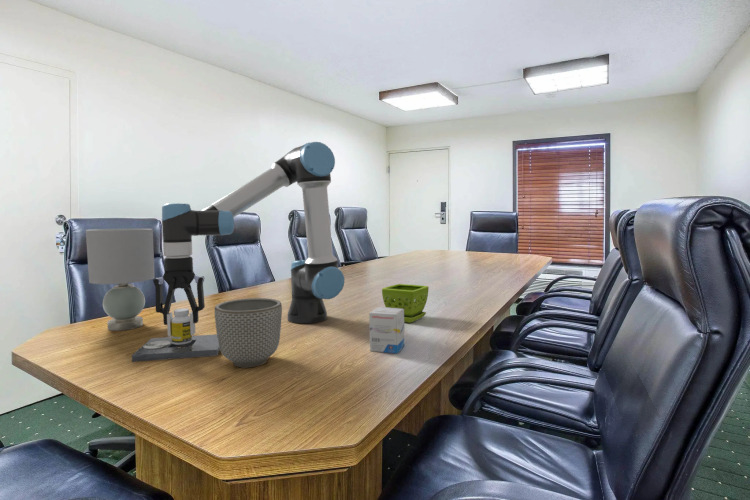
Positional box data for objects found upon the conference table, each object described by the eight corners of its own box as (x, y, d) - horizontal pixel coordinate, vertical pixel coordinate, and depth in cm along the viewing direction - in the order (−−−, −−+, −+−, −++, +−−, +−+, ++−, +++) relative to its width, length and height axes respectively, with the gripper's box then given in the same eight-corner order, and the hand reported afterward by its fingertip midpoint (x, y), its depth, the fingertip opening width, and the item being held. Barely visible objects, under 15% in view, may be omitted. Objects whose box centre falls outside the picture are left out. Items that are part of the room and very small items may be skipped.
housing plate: (225, 339, 130) (225, 332, 130) (217, 355, 114) (216, 348, 114) (151, 343, 125) (151, 337, 125) (131, 361, 110) (131, 354, 110)
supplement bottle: (184, 345, 116) (183, 312, 115) (167, 344, 117) (166, 311, 116) (196, 340, 121) (195, 308, 120) (180, 339, 122) (179, 307, 121)
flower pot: (429, 317, 157) (429, 285, 156) (413, 326, 145) (413, 291, 144) (398, 313, 164) (398, 282, 163) (380, 320, 153) (380, 287, 152)
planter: (246, 379, 97) (244, 314, 96) (202, 366, 106) (200, 306, 105) (296, 358, 112) (295, 301, 111) (253, 348, 121) (252, 295, 120)
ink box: (405, 345, 123) (405, 307, 122) (397, 354, 115) (397, 314, 114) (378, 342, 126) (378, 305, 125) (369, 351, 118) (368, 311, 117)
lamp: (78, 331, 140) (71, 229, 137) (132, 317, 158) (127, 228, 156) (117, 337, 132) (111, 230, 130) (169, 322, 151) (165, 228, 148)
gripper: (214, 254, 122) (217, 329, 124) (148, 256, 119) (152, 333, 121) (209, 257, 115) (212, 336, 117) (138, 258, 111) (143, 340, 113)
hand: (181, 334), depth 119 cm, fingers closed on supplement bottle, 5 cm apart
